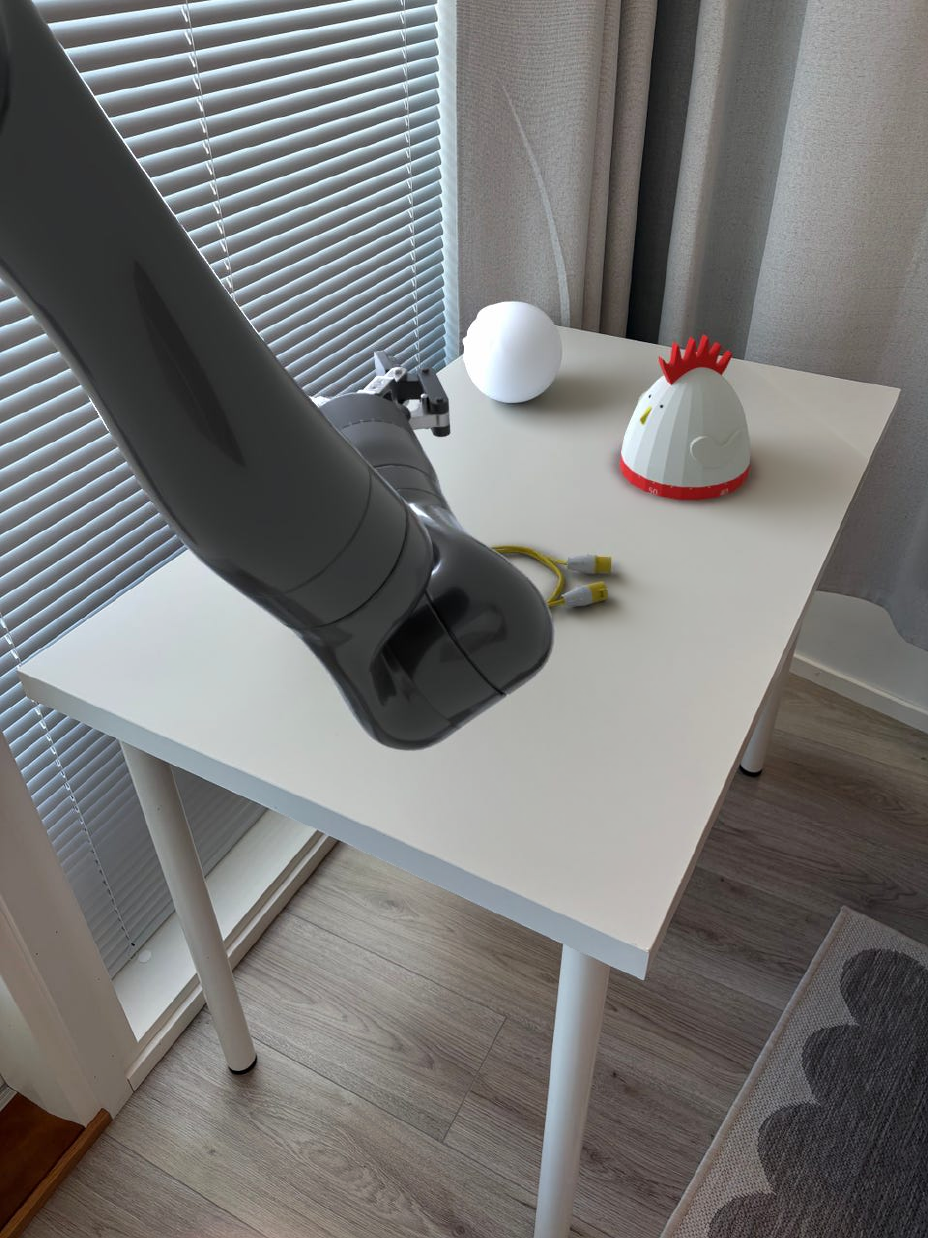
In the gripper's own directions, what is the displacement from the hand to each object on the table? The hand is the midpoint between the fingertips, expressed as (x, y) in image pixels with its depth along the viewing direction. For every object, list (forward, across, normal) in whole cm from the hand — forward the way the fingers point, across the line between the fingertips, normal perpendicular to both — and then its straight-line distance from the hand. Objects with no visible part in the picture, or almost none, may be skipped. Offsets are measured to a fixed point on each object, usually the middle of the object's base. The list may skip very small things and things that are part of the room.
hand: (322, 372), depth 69 cm
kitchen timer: (+16, -40, +25) cm, 50 cm away
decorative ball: (+39, -28, +25) cm, 54 cm away
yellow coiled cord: (+1, -16, +25) cm, 30 cm away
